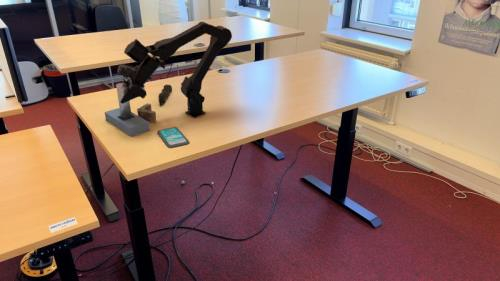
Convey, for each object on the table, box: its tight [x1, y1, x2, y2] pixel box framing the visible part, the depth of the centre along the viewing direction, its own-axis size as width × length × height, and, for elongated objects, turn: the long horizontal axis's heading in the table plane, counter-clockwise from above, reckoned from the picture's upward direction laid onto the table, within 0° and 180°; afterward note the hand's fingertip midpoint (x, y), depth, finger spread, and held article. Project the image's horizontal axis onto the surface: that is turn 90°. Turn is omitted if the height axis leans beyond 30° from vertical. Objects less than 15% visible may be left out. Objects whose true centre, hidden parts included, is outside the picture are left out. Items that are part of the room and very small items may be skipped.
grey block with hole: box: [104, 107, 151, 137], centre depth 150 cm, size 20×8×4 cm, turn 45°
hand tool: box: [157, 84, 173, 107], centre depth 175 cm, size 19×4×5 cm, turn 178°
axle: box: [115, 82, 132, 118], centre depth 146 cm, size 4×4×13 cm
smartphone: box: [156, 126, 190, 149], centre depth 142 cm, size 9×1×15 cm
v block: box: [136, 103, 157, 123], centre depth 156 cm, size 6×11×4 cm, turn 25°
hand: (120, 101), depth 145 cm, fingers closed on axle, 4 cm apart
